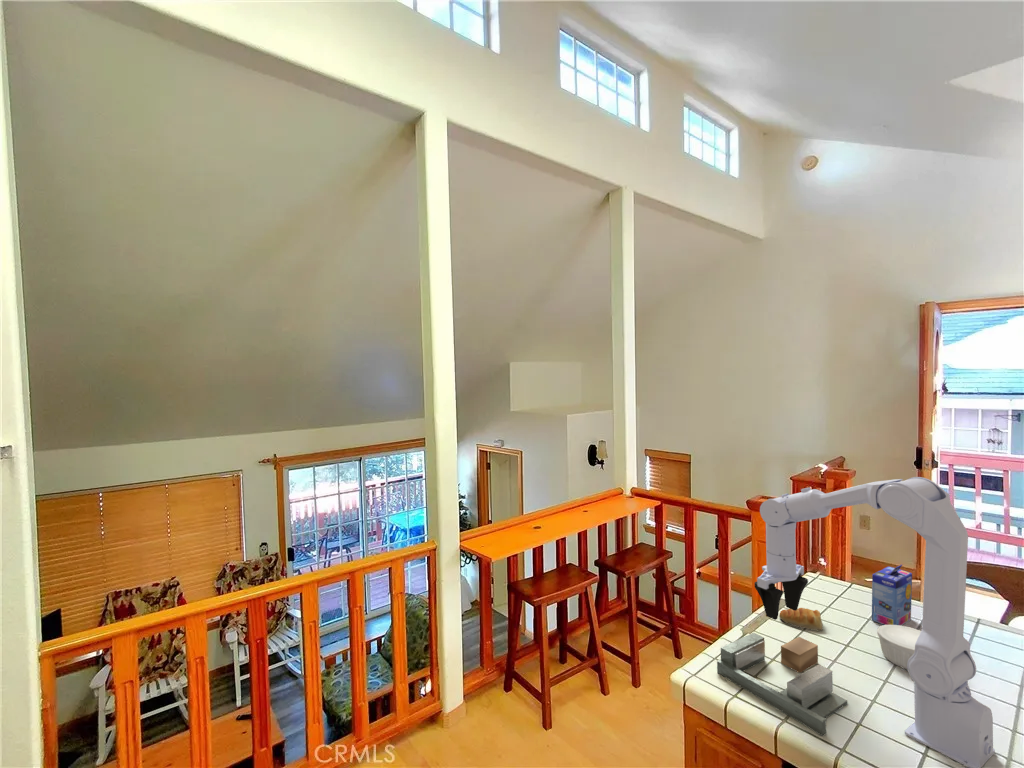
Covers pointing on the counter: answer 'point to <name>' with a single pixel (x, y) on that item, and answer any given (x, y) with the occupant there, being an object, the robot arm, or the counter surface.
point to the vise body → (752, 653)
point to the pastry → (802, 618)
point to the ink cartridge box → (891, 596)
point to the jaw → (810, 686)
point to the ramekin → (898, 643)
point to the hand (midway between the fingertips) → (781, 613)
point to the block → (799, 654)
